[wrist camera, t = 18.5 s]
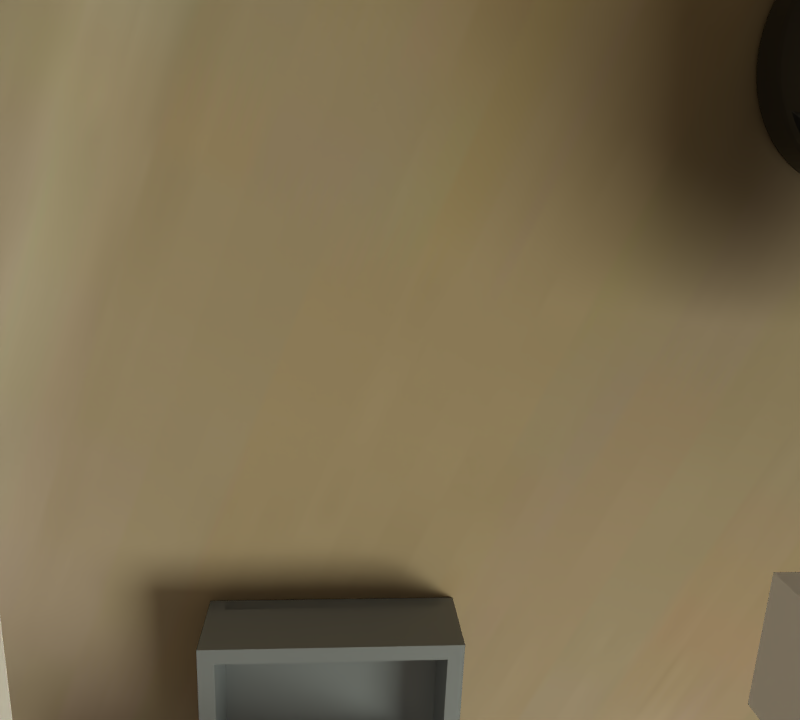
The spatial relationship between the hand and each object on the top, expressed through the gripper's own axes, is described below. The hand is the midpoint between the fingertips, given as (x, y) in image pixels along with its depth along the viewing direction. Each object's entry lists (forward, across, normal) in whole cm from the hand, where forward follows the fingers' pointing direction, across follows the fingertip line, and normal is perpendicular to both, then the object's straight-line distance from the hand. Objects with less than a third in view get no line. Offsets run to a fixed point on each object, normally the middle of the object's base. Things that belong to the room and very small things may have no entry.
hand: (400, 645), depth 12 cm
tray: (+32, -1, -30) cm, 44 cm away
